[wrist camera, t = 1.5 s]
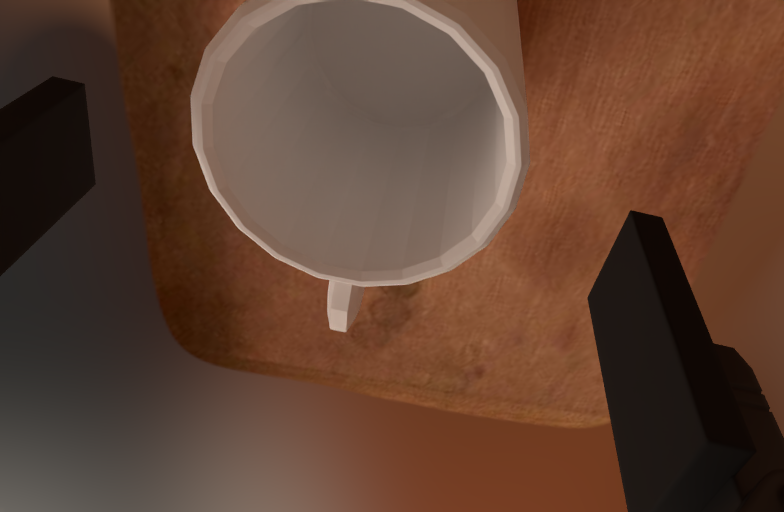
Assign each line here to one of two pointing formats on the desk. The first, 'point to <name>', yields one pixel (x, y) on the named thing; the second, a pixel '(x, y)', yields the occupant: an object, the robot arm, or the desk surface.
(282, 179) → the mug
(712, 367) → the robot arm
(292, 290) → the desk surface
